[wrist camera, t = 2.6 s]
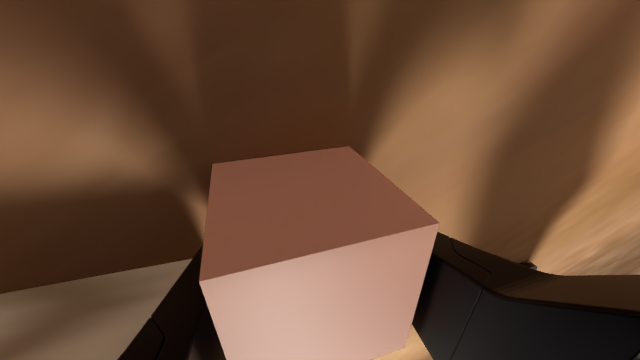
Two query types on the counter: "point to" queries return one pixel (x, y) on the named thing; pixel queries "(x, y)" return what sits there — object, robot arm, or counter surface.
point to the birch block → (83, 314)
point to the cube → (312, 257)
